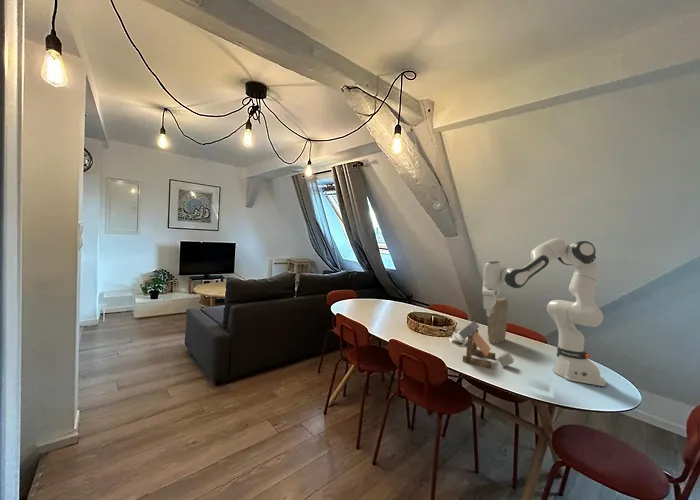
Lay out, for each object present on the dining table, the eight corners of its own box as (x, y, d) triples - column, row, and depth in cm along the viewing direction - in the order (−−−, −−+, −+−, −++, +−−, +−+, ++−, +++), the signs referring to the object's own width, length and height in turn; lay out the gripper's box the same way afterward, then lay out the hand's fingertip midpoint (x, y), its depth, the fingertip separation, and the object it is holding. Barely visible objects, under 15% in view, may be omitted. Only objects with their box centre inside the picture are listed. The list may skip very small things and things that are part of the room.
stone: (508, 351, 171) (498, 355, 174) (507, 354, 167) (497, 358, 170) (514, 359, 170) (504, 364, 172) (513, 362, 166) (502, 367, 168)
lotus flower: (447, 344, 201) (448, 331, 201) (448, 338, 215) (449, 326, 215) (471, 348, 196) (472, 335, 196) (470, 341, 210) (471, 329, 210)
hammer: (458, 333, 176) (469, 324, 173) (463, 327, 188) (474, 320, 185) (480, 359, 170) (492, 351, 167) (484, 352, 182) (495, 345, 179)
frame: (462, 361, 173) (464, 334, 173) (469, 352, 189) (470, 328, 188) (490, 368, 166) (492, 340, 165) (495, 358, 181) (497, 333, 180)
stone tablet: (494, 346, 203) (497, 301, 202) (482, 342, 209) (485, 298, 208) (507, 340, 216) (510, 298, 215) (495, 337, 222) (498, 296, 221)
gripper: (487, 287, 184) (486, 310, 185) (481, 291, 167) (480, 317, 167) (499, 288, 181) (498, 311, 181) (494, 293, 163) (493, 319, 164)
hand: (489, 314), depth 174 cm, fingers open, 8 cm apart
